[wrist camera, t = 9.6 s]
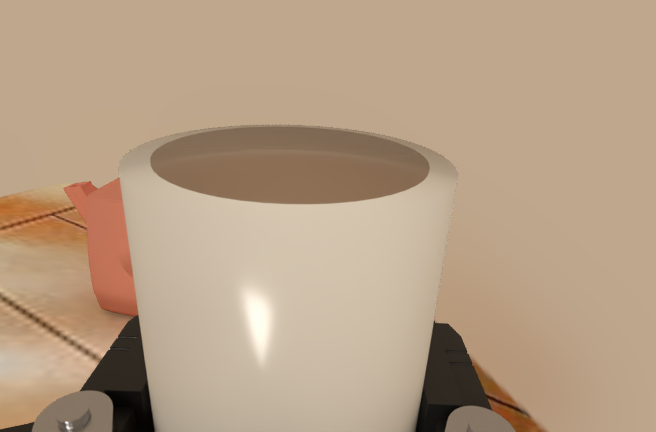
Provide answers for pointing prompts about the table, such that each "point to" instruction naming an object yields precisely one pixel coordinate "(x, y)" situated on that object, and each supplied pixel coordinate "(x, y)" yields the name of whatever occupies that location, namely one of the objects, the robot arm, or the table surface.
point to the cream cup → (286, 276)
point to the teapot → (107, 244)
